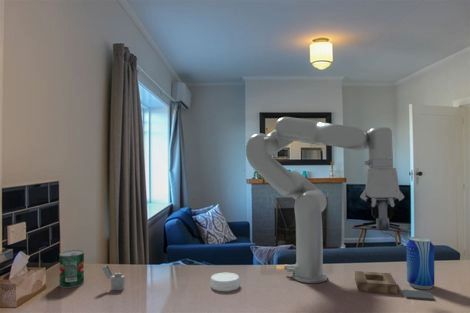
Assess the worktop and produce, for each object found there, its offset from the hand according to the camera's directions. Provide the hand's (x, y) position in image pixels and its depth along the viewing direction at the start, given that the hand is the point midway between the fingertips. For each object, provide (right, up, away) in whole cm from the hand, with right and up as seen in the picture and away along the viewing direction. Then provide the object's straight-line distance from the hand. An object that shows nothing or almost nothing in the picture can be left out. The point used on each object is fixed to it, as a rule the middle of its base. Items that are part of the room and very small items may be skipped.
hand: (382, 217), depth 121 cm
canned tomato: (-107, -24, +5) cm, 110 cm away
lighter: (-91, -24, 0) cm, 94 cm away
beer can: (+14, -24, +2) cm, 28 cm away
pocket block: (-2, -24, +1) cm, 24 cm away
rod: (0, -4, 0) cm, 4 cm away
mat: (+8, -24, -7) cm, 26 cm away
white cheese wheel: (-53, -24, +2) cm, 59 cm away
